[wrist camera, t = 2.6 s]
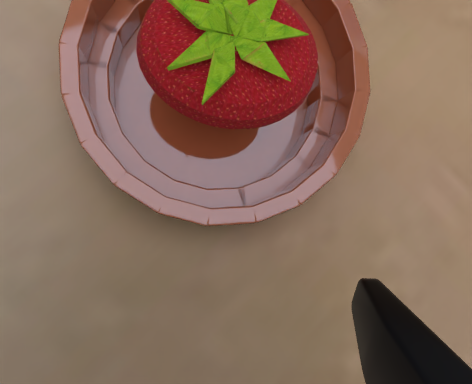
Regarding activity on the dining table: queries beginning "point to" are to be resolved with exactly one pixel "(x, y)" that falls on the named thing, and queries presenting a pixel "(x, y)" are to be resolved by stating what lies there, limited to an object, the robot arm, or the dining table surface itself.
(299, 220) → the dining table surface
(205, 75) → the strawberry
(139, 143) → the pot
